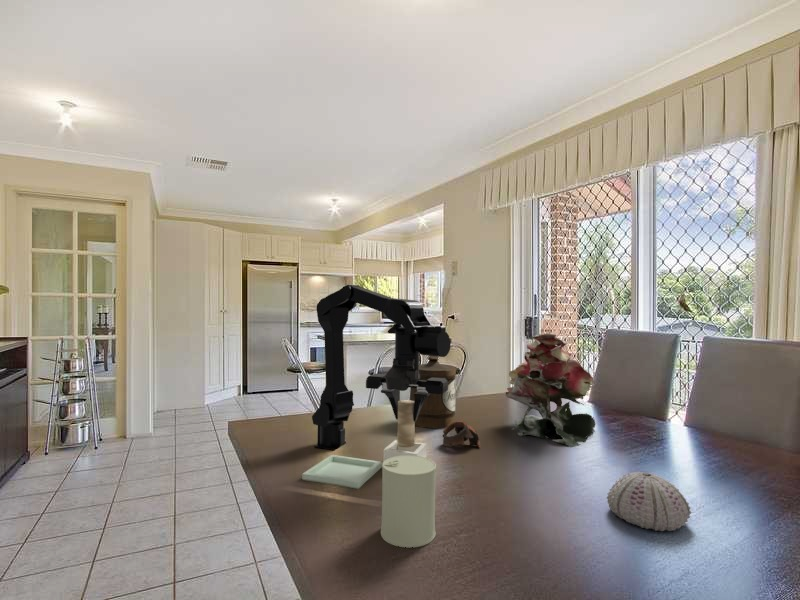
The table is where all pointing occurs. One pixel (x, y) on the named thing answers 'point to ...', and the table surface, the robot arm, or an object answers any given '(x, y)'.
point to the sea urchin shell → (648, 502)
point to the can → (408, 501)
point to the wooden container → (436, 396)
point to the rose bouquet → (551, 391)
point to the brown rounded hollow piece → (460, 435)
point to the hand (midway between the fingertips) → (406, 420)
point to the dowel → (406, 423)
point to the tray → (343, 471)
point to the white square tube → (405, 450)
